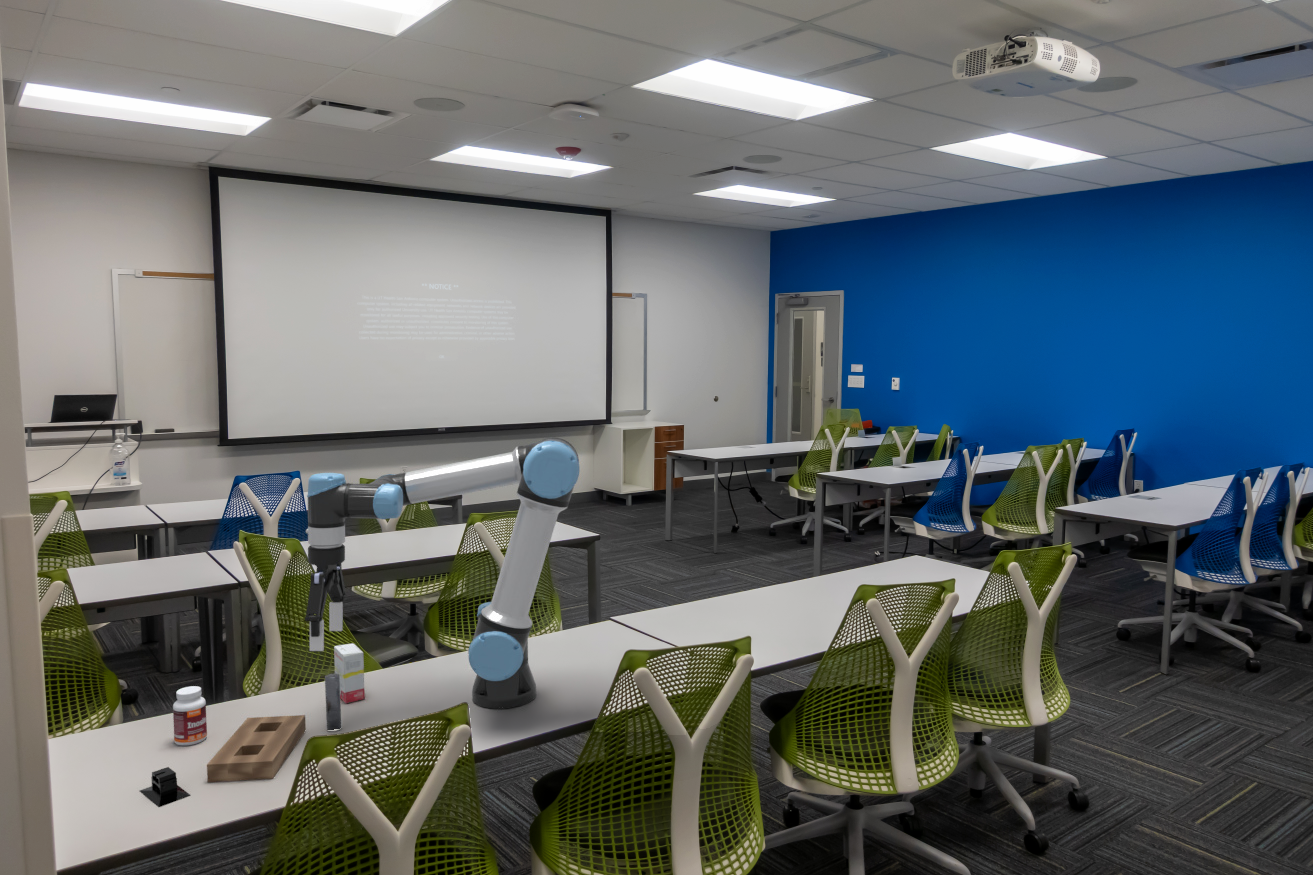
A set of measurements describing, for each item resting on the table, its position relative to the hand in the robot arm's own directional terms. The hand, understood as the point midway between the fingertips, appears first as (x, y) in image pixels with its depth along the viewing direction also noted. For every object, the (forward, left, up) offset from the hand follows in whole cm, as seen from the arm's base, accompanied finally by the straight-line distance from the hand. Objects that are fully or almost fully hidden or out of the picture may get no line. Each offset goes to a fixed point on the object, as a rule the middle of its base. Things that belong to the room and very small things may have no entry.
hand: (326, 640), depth 189 cm
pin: (-1, +2, -20) cm, 20 cm away
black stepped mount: (+23, +27, -20) cm, 41 cm away
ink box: (0, -17, -20) cm, 26 cm away
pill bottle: (+28, +4, -20) cm, 34 cm away
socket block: (+11, +13, -20) cm, 26 cm away
